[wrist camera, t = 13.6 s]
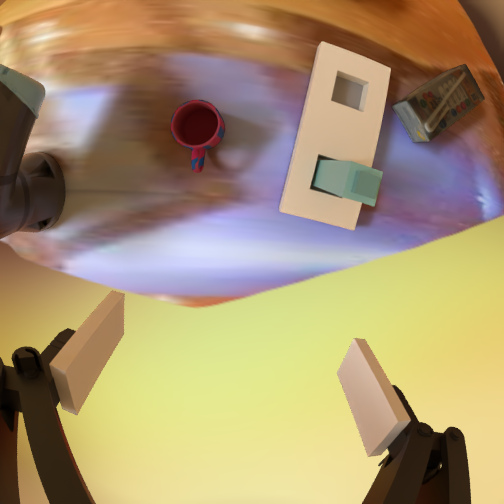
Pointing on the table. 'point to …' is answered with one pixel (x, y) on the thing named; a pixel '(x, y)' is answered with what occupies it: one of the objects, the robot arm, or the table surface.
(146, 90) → the table surface
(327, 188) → the plug
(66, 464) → the robot arm
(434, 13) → the table surface
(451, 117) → the beverage carton
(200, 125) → the cup
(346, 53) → the socket panel
